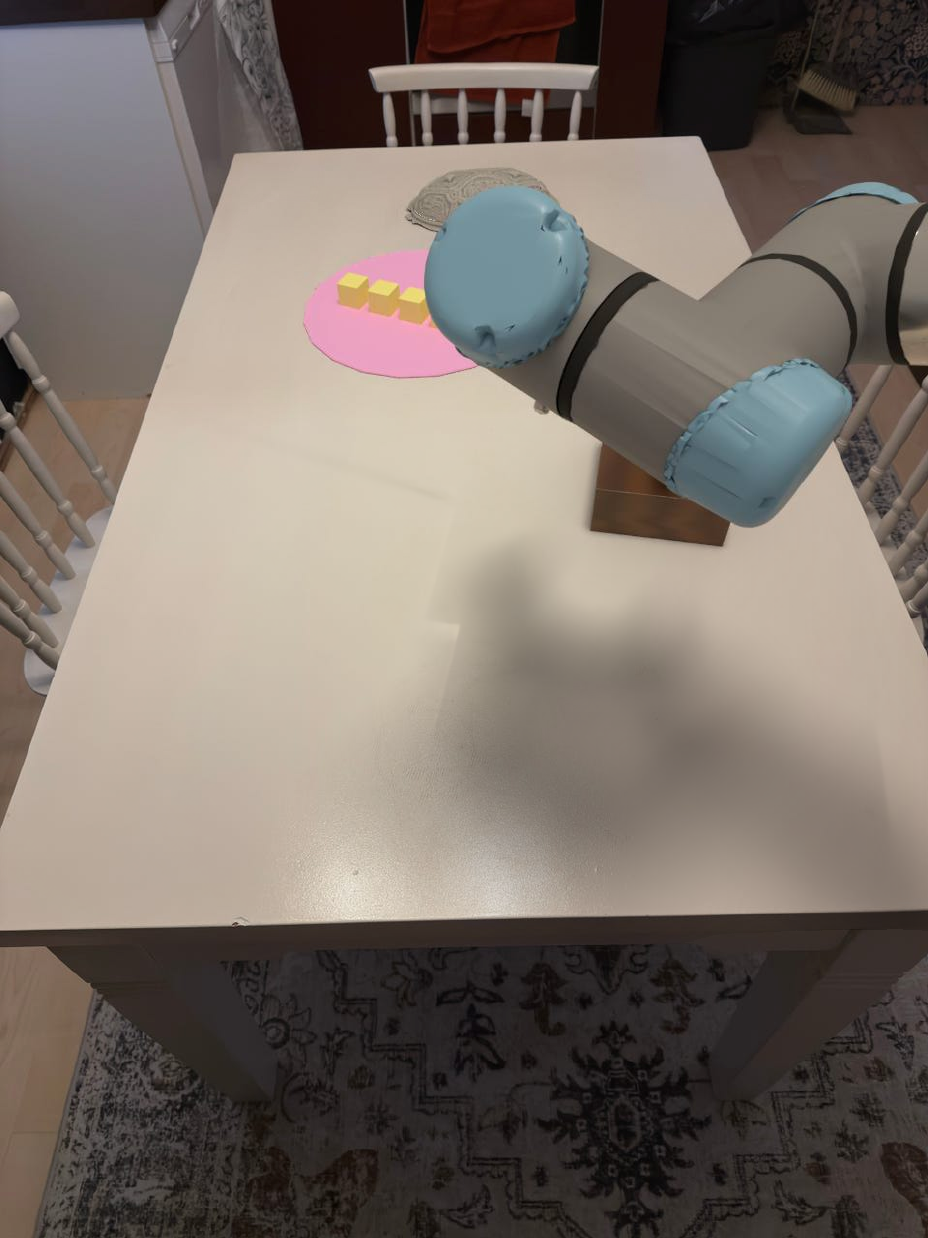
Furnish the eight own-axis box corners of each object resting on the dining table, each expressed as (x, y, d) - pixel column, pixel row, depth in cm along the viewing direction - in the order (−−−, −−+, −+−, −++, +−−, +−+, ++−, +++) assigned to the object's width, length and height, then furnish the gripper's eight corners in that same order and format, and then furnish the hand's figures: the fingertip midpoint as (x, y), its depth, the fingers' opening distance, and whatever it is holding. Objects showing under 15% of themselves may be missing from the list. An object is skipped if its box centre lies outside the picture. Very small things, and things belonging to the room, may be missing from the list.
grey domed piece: (566, 225, 129) (566, 178, 125) (406, 240, 130) (400, 194, 125) (555, 189, 140) (555, 145, 135) (407, 203, 141) (402, 160, 136)
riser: (723, 459, 96) (735, 417, 92) (722, 546, 88) (736, 505, 83) (601, 446, 98) (607, 404, 94) (590, 530, 90) (595, 489, 85)
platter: (474, 402, 104) (473, 379, 101) (258, 344, 113) (253, 321, 110) (564, 276, 121) (566, 253, 119) (372, 234, 130) (370, 212, 128)
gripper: (388, 355, 55) (499, 414, 75) (756, 481, 47) (772, 510, 66) (426, 241, 54) (529, 332, 73) (813, 349, 45) (812, 419, 65)
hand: (644, 417), depth 70 cm, fingers open, 13 cm apart
